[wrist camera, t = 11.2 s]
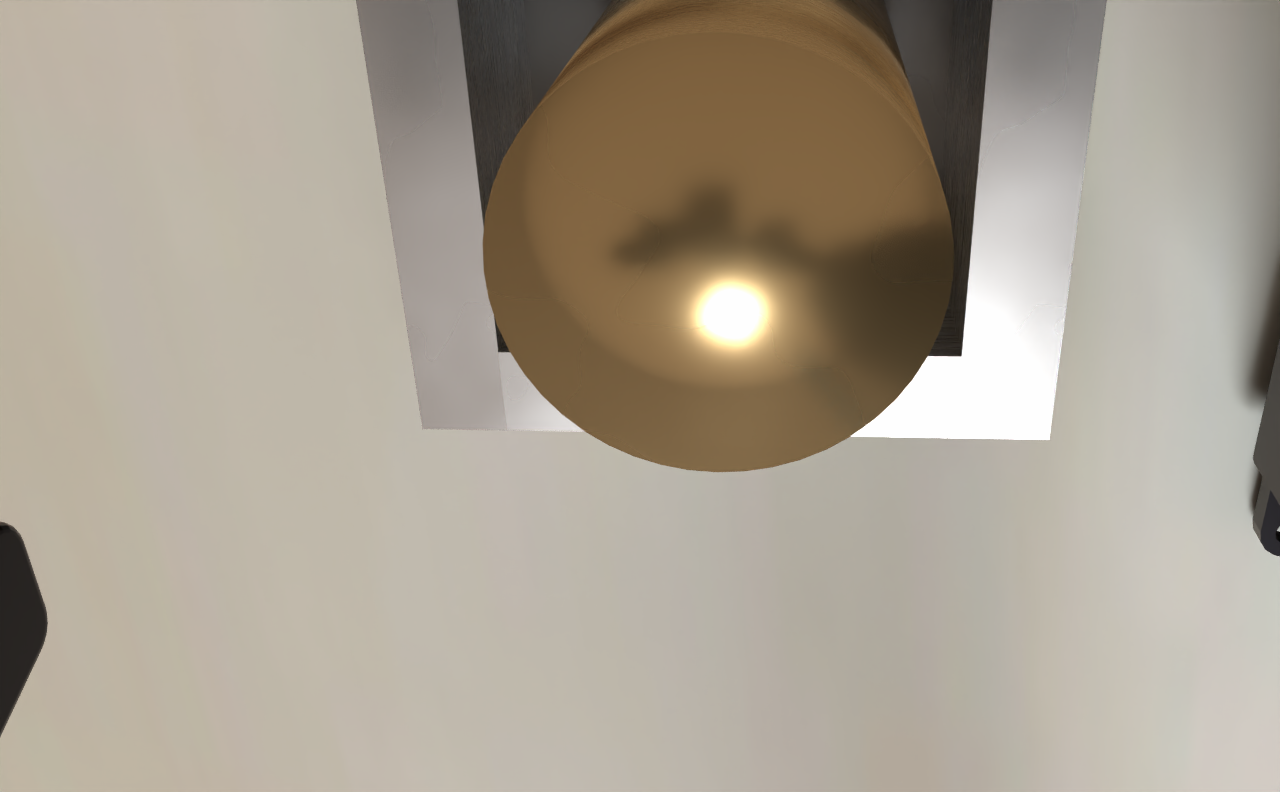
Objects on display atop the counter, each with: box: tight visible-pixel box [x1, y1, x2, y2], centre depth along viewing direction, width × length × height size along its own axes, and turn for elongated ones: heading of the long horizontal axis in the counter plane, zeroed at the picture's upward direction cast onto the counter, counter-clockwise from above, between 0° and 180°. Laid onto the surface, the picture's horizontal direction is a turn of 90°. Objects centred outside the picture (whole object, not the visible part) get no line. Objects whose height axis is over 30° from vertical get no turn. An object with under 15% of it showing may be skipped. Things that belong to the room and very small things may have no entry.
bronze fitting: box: [483, 0, 954, 472], centre depth 14 cm, size 4×4×8 cm
